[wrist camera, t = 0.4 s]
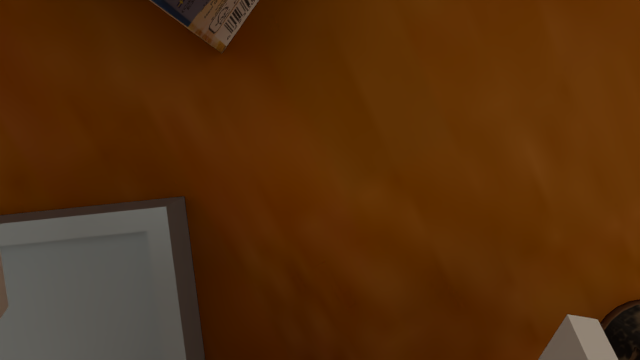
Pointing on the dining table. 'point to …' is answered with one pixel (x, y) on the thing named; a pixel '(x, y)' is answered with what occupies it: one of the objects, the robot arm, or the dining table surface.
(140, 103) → the dining table surface
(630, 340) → the mug
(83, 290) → the box
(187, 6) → the beverage box
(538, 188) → the dining table surface
